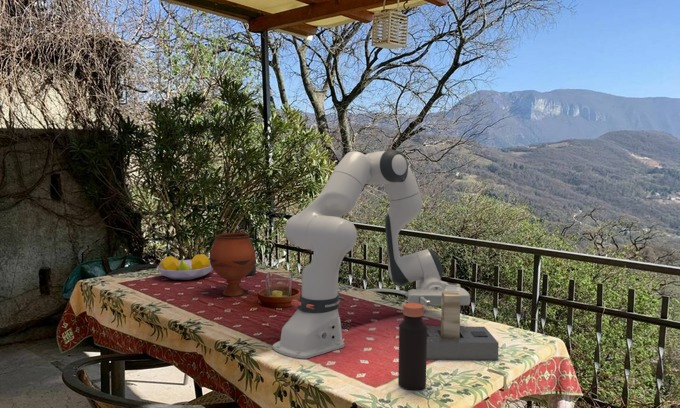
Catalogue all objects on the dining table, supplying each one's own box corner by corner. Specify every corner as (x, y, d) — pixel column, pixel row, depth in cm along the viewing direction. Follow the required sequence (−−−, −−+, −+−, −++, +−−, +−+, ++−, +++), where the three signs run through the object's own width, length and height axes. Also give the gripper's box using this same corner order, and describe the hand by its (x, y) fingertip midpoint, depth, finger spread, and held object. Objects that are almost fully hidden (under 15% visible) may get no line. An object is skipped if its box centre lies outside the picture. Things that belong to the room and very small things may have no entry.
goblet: (243, 285, 224) (242, 230, 222) (264, 294, 209) (264, 235, 207) (202, 292, 212) (201, 233, 210) (222, 302, 197) (221, 239, 195)
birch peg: (440, 344, 149) (441, 291, 148) (455, 344, 149) (457, 291, 148) (443, 350, 145) (444, 295, 144) (459, 350, 145) (460, 295, 144)
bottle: (416, 393, 119) (417, 311, 118) (392, 385, 124) (394, 305, 122) (431, 384, 124) (432, 305, 123) (408, 376, 129) (409, 300, 127)
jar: (236, 272, 250) (236, 257, 250) (256, 272, 251) (256, 257, 251) (234, 277, 240) (234, 261, 240) (255, 277, 241) (255, 261, 241)
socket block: (405, 341, 154) (406, 325, 154) (483, 342, 154) (484, 326, 154) (412, 359, 140) (412, 341, 140) (498, 360, 140) (498, 342, 140)
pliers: (331, 287, 219) (360, 297, 204) (331, 289, 219) (360, 299, 204) (312, 291, 213) (341, 301, 198) (312, 293, 214) (341, 303, 198)
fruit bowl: (172, 270, 256) (172, 248, 255) (223, 272, 252) (223, 249, 251) (143, 283, 228) (143, 258, 227) (200, 285, 224) (200, 260, 223)
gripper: (404, 283, 172) (409, 294, 158) (464, 284, 172) (474, 294, 158) (404, 301, 172) (409, 313, 159) (463, 302, 172) (474, 314, 159)
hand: (442, 304), depth 158 cm, fingers open, 8 cm apart
